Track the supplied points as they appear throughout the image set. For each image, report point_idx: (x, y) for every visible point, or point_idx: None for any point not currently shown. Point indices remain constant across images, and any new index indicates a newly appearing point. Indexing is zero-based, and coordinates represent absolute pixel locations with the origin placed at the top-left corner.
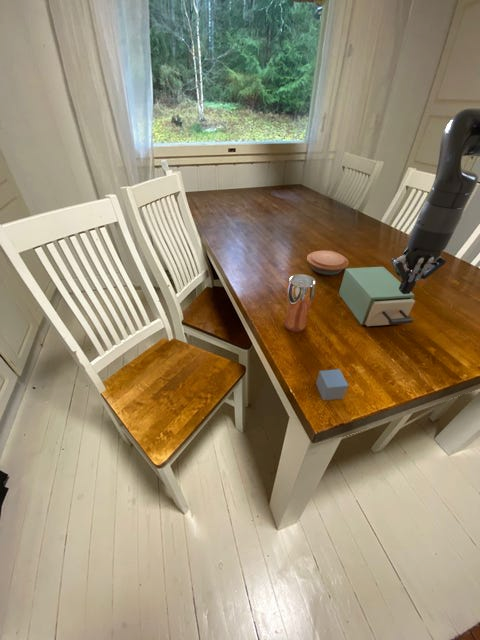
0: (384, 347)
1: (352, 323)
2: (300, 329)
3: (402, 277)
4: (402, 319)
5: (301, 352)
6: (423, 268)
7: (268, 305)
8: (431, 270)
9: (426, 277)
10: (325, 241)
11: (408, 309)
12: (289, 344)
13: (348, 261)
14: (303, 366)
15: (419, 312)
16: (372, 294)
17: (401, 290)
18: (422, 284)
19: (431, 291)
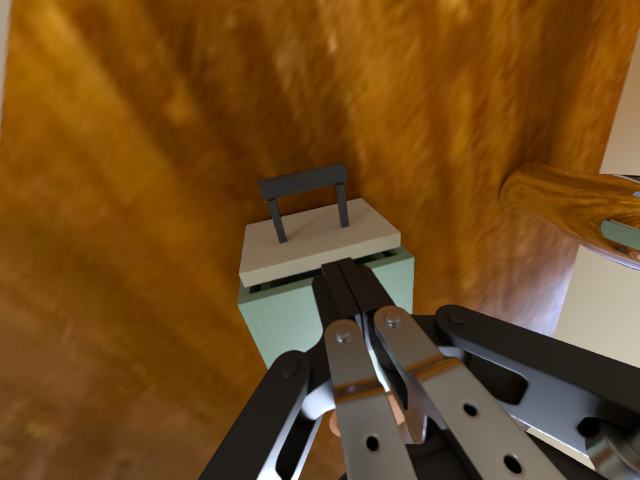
0: (336, 111)
1: (384, 212)
2: (529, 165)
3: (482, 318)
4: (303, 180)
5: (563, 74)
6: (404, 457)
7: (536, 249)
8: (260, 454)
9: (275, 368)
10: (334, 461)
11: (253, 250)
12: (571, 108)
13: (329, 420)
14: (591, 7)
15: (178, 288)
16: (401, 277)
17: (369, 271)
18: (142, 397)
19: (121, 378)
